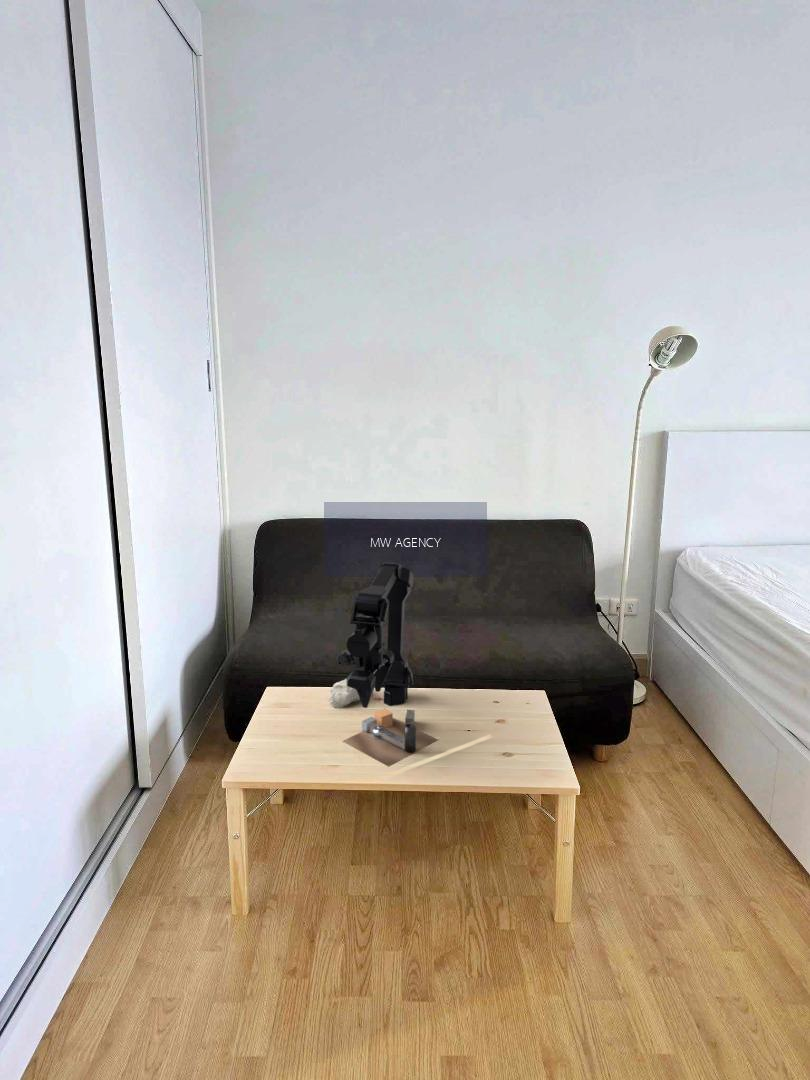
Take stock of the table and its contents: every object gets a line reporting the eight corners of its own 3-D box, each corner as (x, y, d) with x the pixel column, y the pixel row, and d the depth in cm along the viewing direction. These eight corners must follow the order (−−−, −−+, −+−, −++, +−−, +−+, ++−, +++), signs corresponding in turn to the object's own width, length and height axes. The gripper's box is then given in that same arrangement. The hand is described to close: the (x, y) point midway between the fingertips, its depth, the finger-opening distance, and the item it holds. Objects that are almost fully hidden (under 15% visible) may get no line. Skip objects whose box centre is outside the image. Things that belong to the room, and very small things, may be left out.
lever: (371, 724, 195) (371, 703, 193) (419, 748, 183) (419, 726, 182) (361, 729, 192) (361, 708, 191) (409, 754, 181) (409, 731, 179)
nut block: (385, 720, 198) (385, 708, 197) (392, 725, 195) (392, 713, 194) (374, 723, 196) (374, 711, 195) (381, 729, 193) (381, 717, 192)
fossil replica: (321, 710, 206) (353, 718, 203) (321, 684, 203) (355, 692, 200) (338, 689, 217) (370, 697, 214) (339, 664, 214) (371, 672, 211)
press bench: (398, 717, 202) (398, 702, 200) (444, 739, 190) (445, 723, 189) (342, 744, 187) (342, 728, 186) (388, 770, 176) (388, 753, 175)
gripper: (354, 624, 192) (355, 679, 196) (325, 651, 174) (327, 711, 178) (394, 629, 188) (394, 685, 192) (369, 657, 171) (370, 718, 175)
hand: (371, 699), depth 185 cm, fingers open, 9 cm apart
